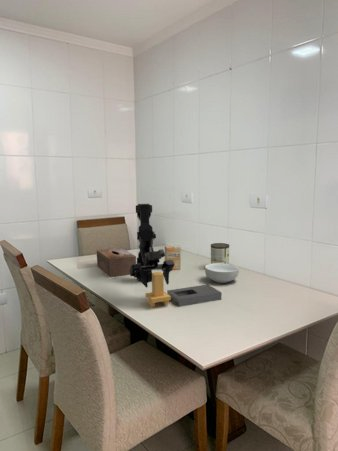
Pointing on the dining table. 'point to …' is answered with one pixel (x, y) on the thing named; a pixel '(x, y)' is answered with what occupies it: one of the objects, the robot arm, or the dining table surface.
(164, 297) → the orange post
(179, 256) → the supplement box
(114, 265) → the tissue box cover
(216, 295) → the grey metal plate
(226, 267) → the cereal bowl
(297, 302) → the dining table surface
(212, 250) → the coffee can
